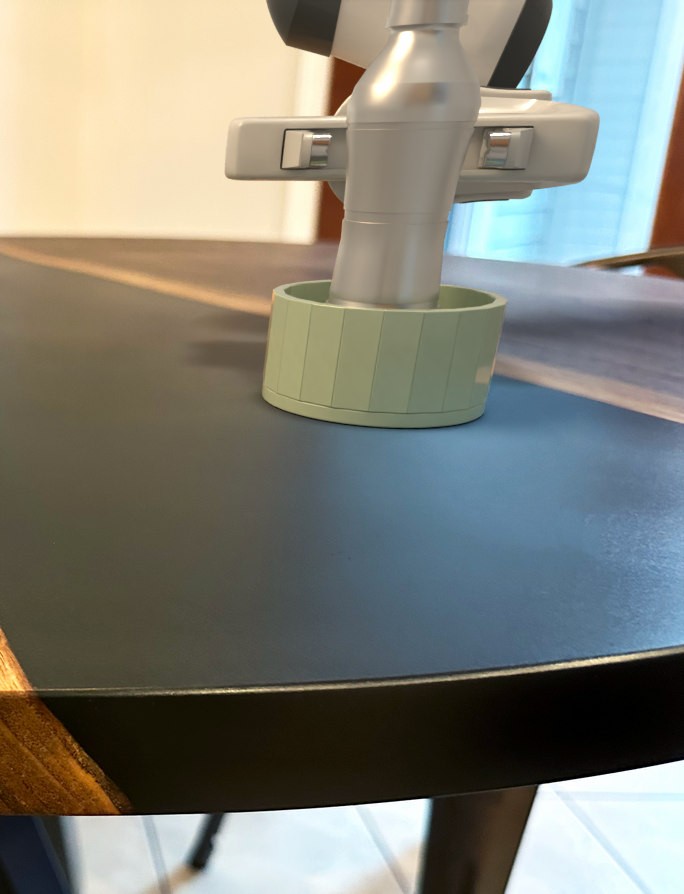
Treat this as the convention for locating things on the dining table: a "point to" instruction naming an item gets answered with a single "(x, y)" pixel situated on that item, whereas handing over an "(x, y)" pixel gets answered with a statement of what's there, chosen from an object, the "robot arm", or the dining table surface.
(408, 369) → the round open container
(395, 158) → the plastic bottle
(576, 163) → the robot arm
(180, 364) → the dining table surface
